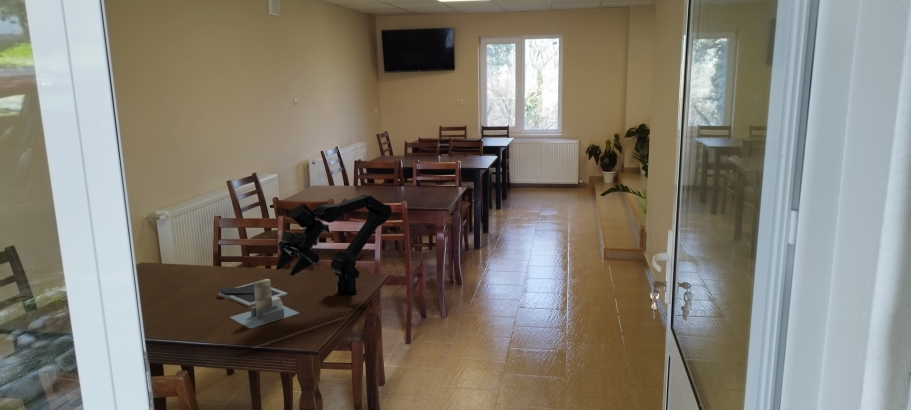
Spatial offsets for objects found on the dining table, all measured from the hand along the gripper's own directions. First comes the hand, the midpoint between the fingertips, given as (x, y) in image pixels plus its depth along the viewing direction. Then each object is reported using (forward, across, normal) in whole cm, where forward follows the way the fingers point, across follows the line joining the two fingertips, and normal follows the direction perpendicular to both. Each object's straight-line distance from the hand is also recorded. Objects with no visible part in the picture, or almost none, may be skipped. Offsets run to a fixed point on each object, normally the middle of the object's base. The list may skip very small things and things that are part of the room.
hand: (283, 272), depth 206 cm
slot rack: (+16, 0, +4) cm, 16 cm away
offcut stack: (+11, -5, +8) cm, 14 cm away
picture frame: (+11, -22, +10) cm, 27 cm away
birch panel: (+15, 0, +4) cm, 15 cm away
